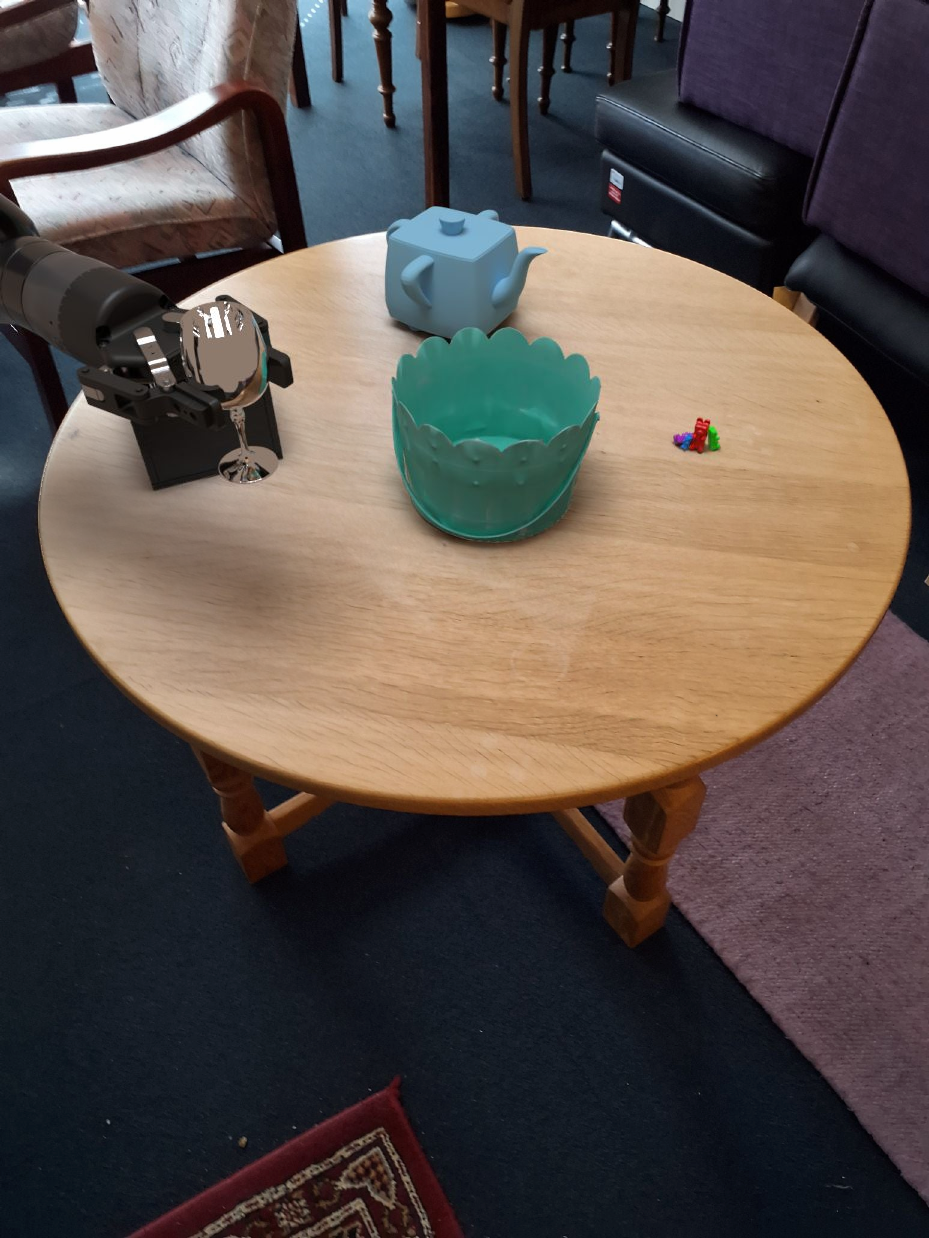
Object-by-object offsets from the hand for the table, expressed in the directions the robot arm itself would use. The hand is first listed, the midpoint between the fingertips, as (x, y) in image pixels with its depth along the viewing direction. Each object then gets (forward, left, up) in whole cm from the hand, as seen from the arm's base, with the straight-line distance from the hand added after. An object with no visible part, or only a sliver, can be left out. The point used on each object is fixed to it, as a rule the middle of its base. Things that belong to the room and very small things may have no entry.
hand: (255, 395), depth 61 cm
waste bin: (-2, +31, -24) cm, 39 cm away
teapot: (+33, +42, -24) cm, 58 cm away
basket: (+23, +11, -24) cm, 35 cm away
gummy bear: (+46, +9, -24) cm, 52 cm away
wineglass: (-1, +2, -7) cm, 8 cm away
